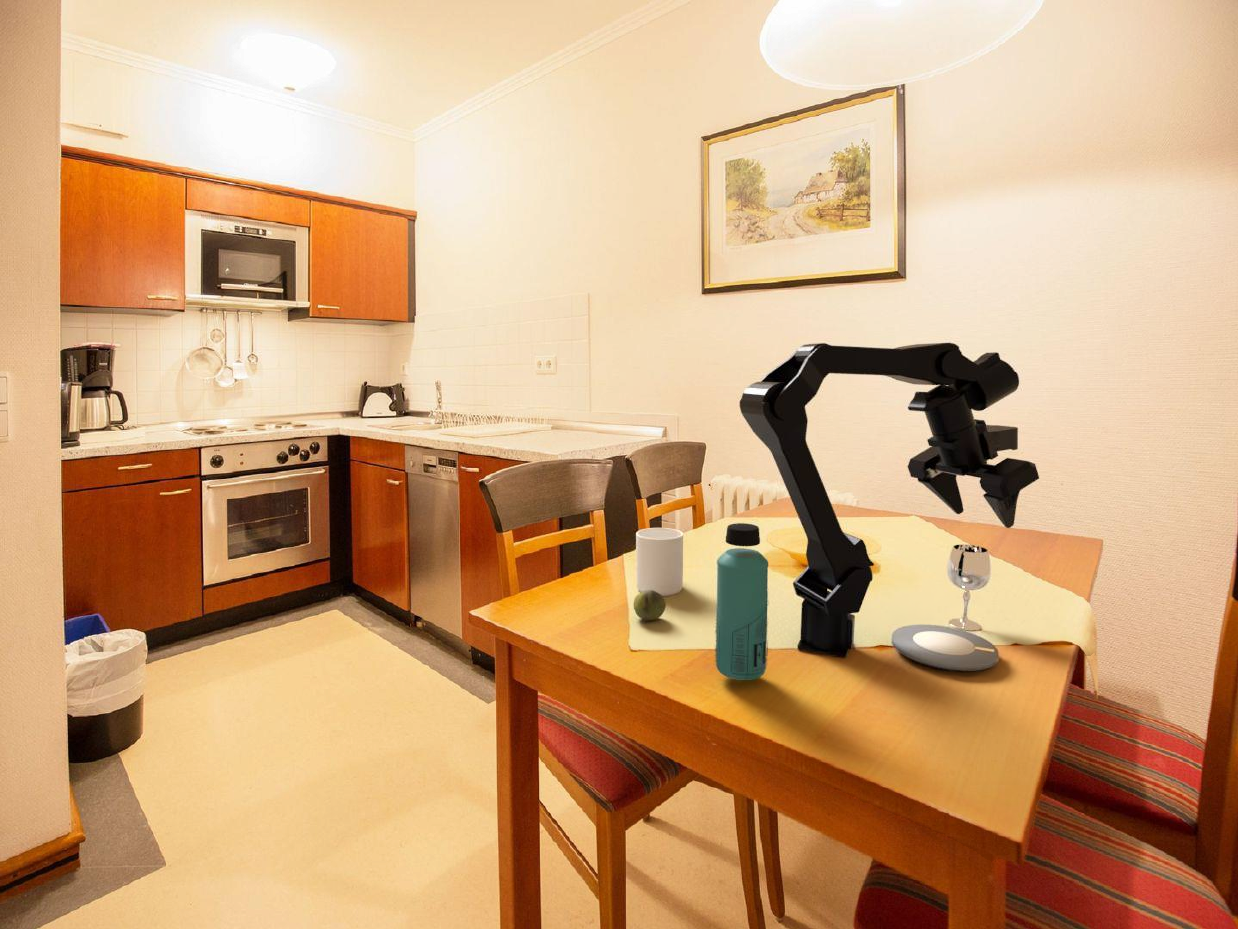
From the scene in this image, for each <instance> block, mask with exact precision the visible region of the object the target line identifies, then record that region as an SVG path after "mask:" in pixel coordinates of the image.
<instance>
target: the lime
mask: <svg viewBox="0 0 1238 929" xmlns="http://www.w3.org/2000/svg"><path fill="white" fill-rule="evenodd" d="M666 606H667V602H666V599H665V598H664V596H662V595H661V594H659V593H657V592H656V591H653V590H645V591H642V592H639V593H638V594H637V595H636V596H635V597H634V600H633V609H634V612H635V614H636V615H637V617H638V618H640V619H642V620H644V621H647V622H649V621H656V620H657V619H658V618H659V619H660V618H661V617H662V616H663V614H664V612H665V610H666Z"/></svg>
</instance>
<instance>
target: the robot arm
mask: <svg viewBox="0 0 1238 929" xmlns="http://www.w3.org/2000/svg"><path fill="white" fill-rule="evenodd" d="M829 374H833V375H834V374H835V375H839V374H840V375H861V376H862V375H864V376H865V375H866V376H884V377H887V378H888V377H889V378H892V379H893V380H895V381H900V382H903V383H906V384H911V385H919V386H920V385H921V386H923V385H924V386H935V387H933V388H932V389H930V390H927V391H916V392H915V393H914V396H913V398H912V399H911V400H910V402H909V404H908V406H907V410H908V411H912V412H923V413H924V414H925V418H926V420H927V423H928V426H929V430H930V433H931V435H932V436H931V437H929V438H927V440H926V441H927V443H928V446H929V447H928V448H927V449H925V450H923V451H922V452H920V453H918V454H916V455H914V456H913V457H912V458H910V459H909V462H908V465H907V469H908V471H909V475H910V477H911V478H914V479H917V481H918V483H920V484H922V485H923V486H925V487H926V488H927V489H928V490H929V491H931V493H933V494H934V495H935V496H936V497H938V498H939V499H940V501H942V502H943V503H944V504H945V505H946V506H947V507H948V508H950V509H951V510H952V511H953V512H954V513H955V514H956V515H961V514H962V513H963V512H964V503H963V501H962V500H963V499H962V497H961V492H960V489H959V485H958V481H957V476H960V477H964V476H969V477H973V478H978V479H979V478H980V480H979V485H980V488H981V489H982V490H983V491H984V492H985V493H984V494H983V495H982V496H983V498H984V499H985V501H986V502H987V504H988V505H989V506H990V508H991V509H992V511H993V512H994V514H995V515H996V517H997V518H998V520H999V521H1000V522H1001V524H1002V525H1003V526H1004V527H1005V528H1006V529H1010V528H1011V527H1013V526H1014V525H1015V518H1016V510H1017V503H1018V498H1019V496H1020V493H1021V491H1022V490H1023V489H1025V488H1026V487H1028V486H1030V485H1031V484H1033V483H1034V482H1036V481H1038V480H1039V479H1040V475H1039V472H1038V468H1037V466H1036V463H1034V462H1032V461H1029V460H1023V459H1016V458H1011V457H1006V458H1005V459H1003V460H1001V461H999V462H998V463H996V464H990V463H988V461H989V460H994V459H995V458H997V457H999V453H998V452H1002V451H1009V450H1011V451H1016V450H1019V449H1018V448H1019V443H1018V442H1019V438H1018V437H1019V433H1018V432H1019V431H1018V430H1019V428H1018V427H1016V426H1008V425H999V424H998V425H996V424H995V425H994V424H993V425H992V424H987V423H986V421H985V420H984V419H979V418H978V419H976V418H975V417H974V414H973V411H976V412H980V411H981V412H982V411H984V410H986V409H988V408H989V407H991V406H993V405H994V404H996V403H998V402H1000V401H1001V400H1003V399H1005V398H1006V397H1008V396H1010V395H1011V394H1013V393H1015V392H1016V391H1017V390H1018V388H1019V386H1020V377H1019V374H1018V372H1016V371H1015V370H1014V368H1013V366H1011V365H1010V364H1009V363H1008V362H1007V361H1004V360H1003V359H1001V356H1000V354H999V352H996V351H995V352H985V353H983V354H981V355H980V356H979V357H978V358H976V360H971V359H970V358H968V357H966V356H965V355H964V354H963V353H962V351H961V350H960V346H959V345H958V344H956V343H953V342H939V343H938V342H937V343H935V342H934V343H916V344H911V345H909V344H908V345H903V346H898V347H894V348H888V347H886V348H885V347H868V346H867V347H866V346H851V345H850V346H849V345H848V346H847V345H846V346H845V345H832V344H829V343H824V342H820V343H808V344H807V343H806V344H803V345H801V346H799V348H797V349H796V350H795V351H794V353H792V354H791V355H790V356H789V357H788V358H787V359H786V360H785V361H783V362H781V363H780V364H779V365H777V366H776V367H775V368H773V369H771V371H769V372H767V374H765V375H764V376H763V377H762V379H760V381H756V382H753V383H751V384H750V385H749V386H747V387H746V388H745V390H744V391H743V393H742V394H741V395H742V396H741V398H740V400H739V409H740V412H741V415H742V416H743V418H744V419H745V421H746V423H747V424H748V426H749V428H750V429H751V430H752V432H753V433H754V435H756V437H757V438H758V439H759V440H760V441H761V442H762V443H763V444H764V445H765V446H766V447H767V448H768V450H769V451H770V453H771V455H772V458H773V459H774V462H775V464H776V467H777V469H778V471H779V475H780V476H781V479H782V481H783V484H784V486H785V489H786V490H787V493H788V495H789V498H790V500H791V503H792V504H793V507H794V509H795V510H794V511H795V512H796V514H797V516H798V519H799V520H800V524H801V526H802V528H803V531H804V533H805V535H806V539H807V544H806V550H805V551H806V552H805V556H806V561H807V564H808V565H807V566H806V568H804V570H802V572H801V573H800V574H799V575H798V576H797V578H796V579H795V580H793V582H792V586H793V589H794V593H795V595H796V596H798V597H800V598H802V599H803V601H802V603H801V613H800V614H801V615H800V617H801V618H800V639H799V641H798V643H797V645H796V646H797V647H796V648H797V649H798V650H800V651H806V652H812V653H816V654H821V655H827V656H833V657H839V658H847V656H848V652H849V650H851V649H852V648H853V646H854V645H853V644H854V641H855V640H854V638H855V622H856V619H855V618H856V617H855V614H856V613H857V614H859V612H860V610H861V607H862V605H863V602H864V600H865V597H866V594H867V591H868V589H869V587H870V584H871V582H872V581H873V577H874V576H873V571H872V567H873V566H875V563H874V562H873V561H872V559H871V558H870V556H869V555H868V549H867V546H866V544H865V541H864V540H863V539H861V538H859V537H857V536H855V535H852V534H849V533H846V532H844V531H843V529H842V527H841V524H840V522H839V519H838V518H837V515H836V513H835V512H836V511H835V510H834V507H833V505H832V503H831V500H830V497H829V496H828V493H827V490H826V487H825V484H824V483H823V480H822V478H821V475H820V473H819V472H820V471H819V470H818V468H817V464H816V462H815V459H814V458H813V455H812V453H811V450H810V448H809V445H808V443H807V430H808V422H809V420H808V414H807V410H806V405H808V404H809V403H810V402H811V401H812V400H813V399H814V397H815V396H816V395H817V394H818V392H819V390H820V388H821V385H822V383H823V381H824V380H825V379H826V377H827V376H828V375H829Z"/></svg>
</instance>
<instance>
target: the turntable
mask: <svg viewBox="0 0 1238 929" xmlns="http://www.w3.org/2000/svg"><path fill="white" fill-rule="evenodd" d="M891 645H892V646H893V648H894V649H895V650H896V651H897V652H898V653H900V654H901V655H903V656H905V657H906V658H909V659H911V660H912V661H914V660H915V662H916V661H918V662H920V663H919V664H921V663H923V664H927V665H930V666H934V667H939V668H944V669H950V670H961V671H965V672H972V671H982V670H987V669H989V668H993V667H994V666H995V665H997V663H998V661H999V650H998V648H997V647H996V645H995V644H993V643H992V642H990V641H989V640H987V639H986V638H983V637H981V636H980V635H977V634H974V633H972V632H969V631H967V630H962V629H958V628H955V627H950V626H944V625H936V624H911V625H910V624H909V625H904V626H901V627H898V628H897V629H895V630H894V631H893V632H892V634H891ZM918 662H917V663H918ZM923 664H922V665H923Z"/></svg>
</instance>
